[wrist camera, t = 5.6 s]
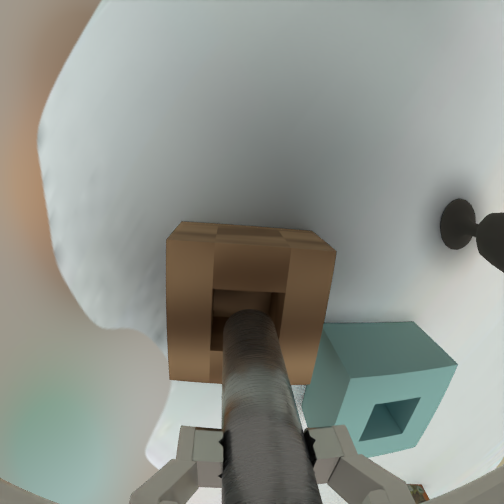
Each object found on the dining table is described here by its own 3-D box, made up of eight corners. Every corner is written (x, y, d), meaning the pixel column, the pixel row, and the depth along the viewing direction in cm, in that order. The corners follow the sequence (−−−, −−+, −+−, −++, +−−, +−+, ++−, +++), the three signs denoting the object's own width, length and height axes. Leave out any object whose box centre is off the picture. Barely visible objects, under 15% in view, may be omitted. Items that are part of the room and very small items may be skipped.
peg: (224, 307, 17) (223, 510, 6) (278, 310, 17) (338, 501, 6) (222, 352, 18) (221, 542, 6) (272, 353, 18) (312, 537, 7)
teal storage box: (320, 323, 26) (350, 378, 19) (413, 321, 27) (458, 364, 20) (301, 406, 29) (318, 464, 21) (385, 398, 30) (415, 446, 22)
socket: (181, 221, 23) (166, 239, 17) (311, 230, 24) (336, 251, 18) (180, 337, 26) (169, 379, 20) (294, 342, 27) (309, 384, 21)
